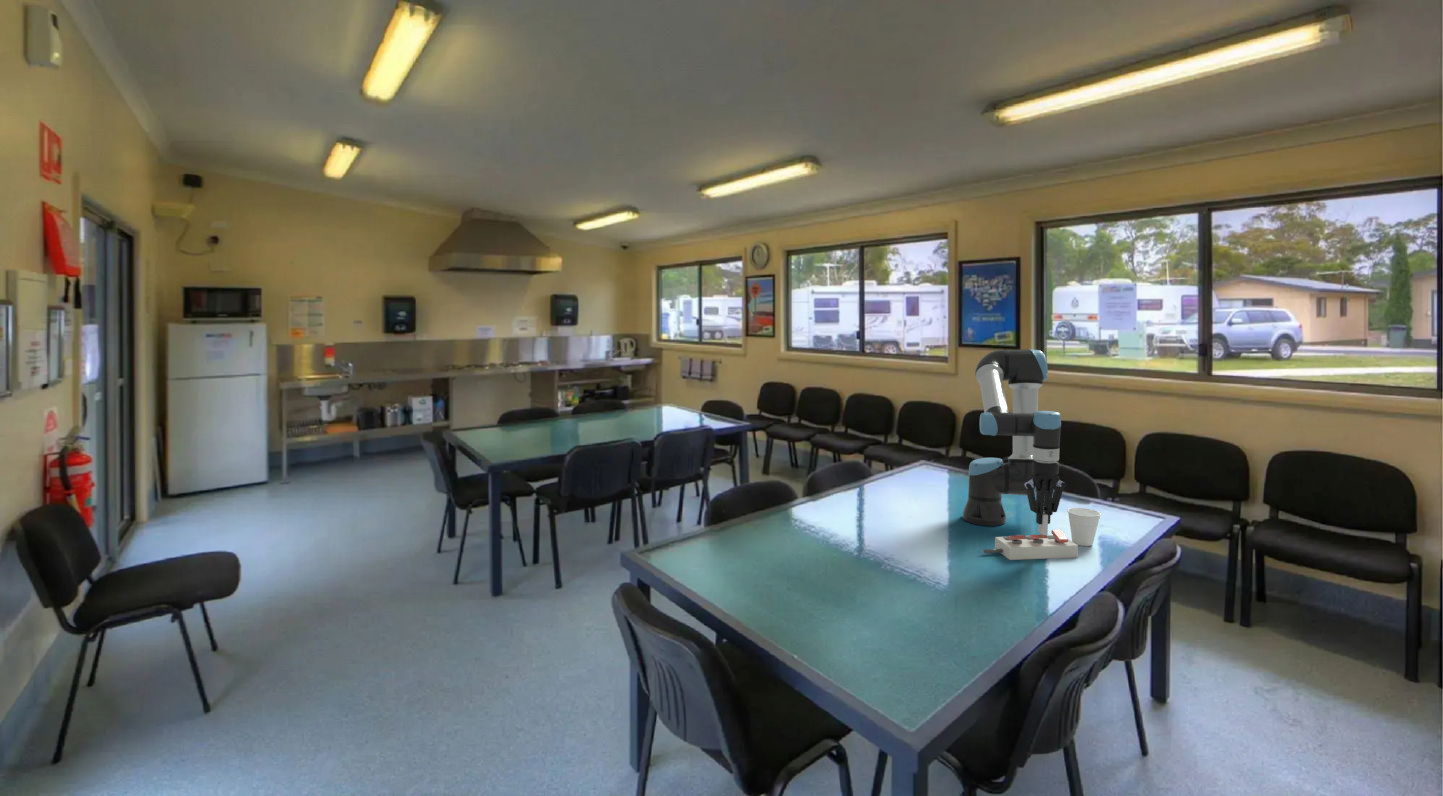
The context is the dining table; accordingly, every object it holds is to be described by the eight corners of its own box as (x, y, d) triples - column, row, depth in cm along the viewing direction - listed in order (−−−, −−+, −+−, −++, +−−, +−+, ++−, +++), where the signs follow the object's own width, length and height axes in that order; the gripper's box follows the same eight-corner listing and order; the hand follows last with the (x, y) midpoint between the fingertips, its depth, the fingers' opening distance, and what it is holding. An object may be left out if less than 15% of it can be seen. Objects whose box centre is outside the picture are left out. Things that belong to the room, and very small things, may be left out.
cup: (1104, 549, 211) (1105, 516, 210) (1071, 547, 213) (1072, 515, 212) (1093, 539, 221) (1094, 507, 220) (1061, 537, 223) (1063, 506, 222)
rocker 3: (1051, 532, 210) (1052, 529, 209) (1059, 532, 210) (1060, 529, 210) (1059, 542, 206) (1060, 539, 205) (1067, 542, 206) (1068, 539, 205)
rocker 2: (1030, 538, 210) (1030, 534, 210) (1039, 538, 210) (1038, 534, 210) (1038, 538, 205) (1037, 534, 205) (1047, 538, 205) (1046, 534, 205)
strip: (977, 549, 214) (977, 534, 213) (1059, 546, 215) (1060, 531, 214) (991, 560, 204) (991, 545, 203) (1077, 557, 205) (1078, 542, 204)
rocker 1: (1009, 539, 209) (1008, 535, 210) (1017, 539, 209) (1017, 535, 210) (1016, 539, 204) (1016, 535, 205) (1025, 539, 204) (1024, 534, 205)
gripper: (1031, 463, 198) (1028, 538, 201) (1072, 462, 198) (1069, 536, 201) (1019, 458, 205) (1016, 530, 208) (1059, 457, 206) (1056, 529, 209)
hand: (1042, 533), depth 205 cm, fingers closed
